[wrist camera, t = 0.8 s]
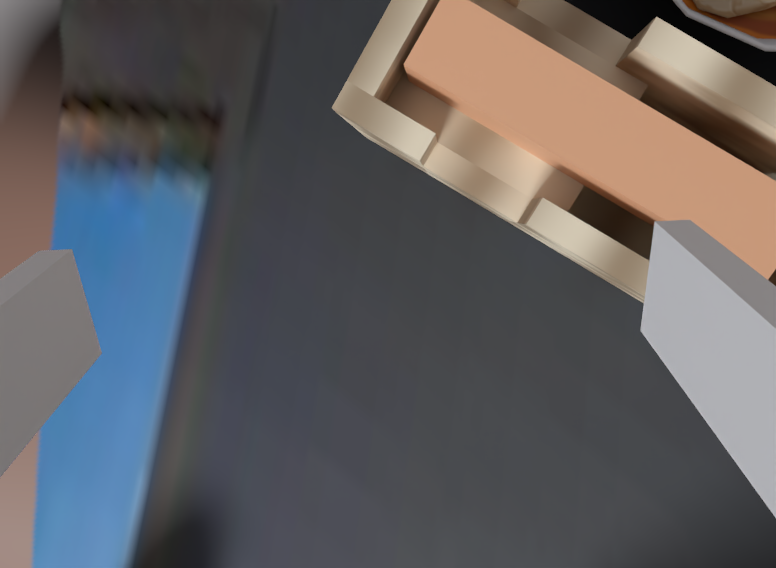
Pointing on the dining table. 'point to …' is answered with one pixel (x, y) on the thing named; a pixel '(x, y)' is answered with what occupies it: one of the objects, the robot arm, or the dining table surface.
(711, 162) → the tan block
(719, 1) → the ramen bowl
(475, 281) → the dining table surface
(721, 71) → the box
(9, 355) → the robot arm
